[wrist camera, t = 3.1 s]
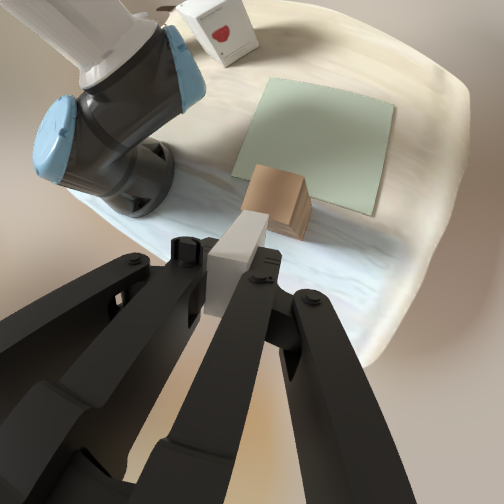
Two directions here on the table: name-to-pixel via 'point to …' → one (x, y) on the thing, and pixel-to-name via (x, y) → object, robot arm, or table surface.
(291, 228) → the walnut block
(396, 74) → the table surface
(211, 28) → the supplement box
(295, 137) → the mat
